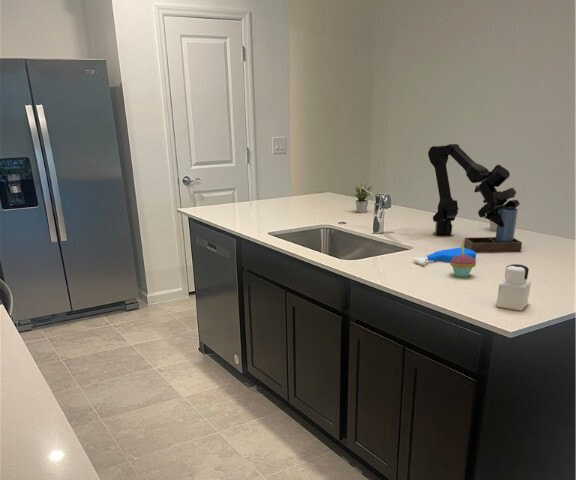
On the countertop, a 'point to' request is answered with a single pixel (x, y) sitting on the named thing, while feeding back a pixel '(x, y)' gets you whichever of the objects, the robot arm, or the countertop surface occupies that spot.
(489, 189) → the robot arm
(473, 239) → the wooden divided tray
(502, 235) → the tumbler
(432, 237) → the countertop surface
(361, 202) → the house plant
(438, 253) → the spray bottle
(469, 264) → the cupcake
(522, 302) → the medicine bottle
